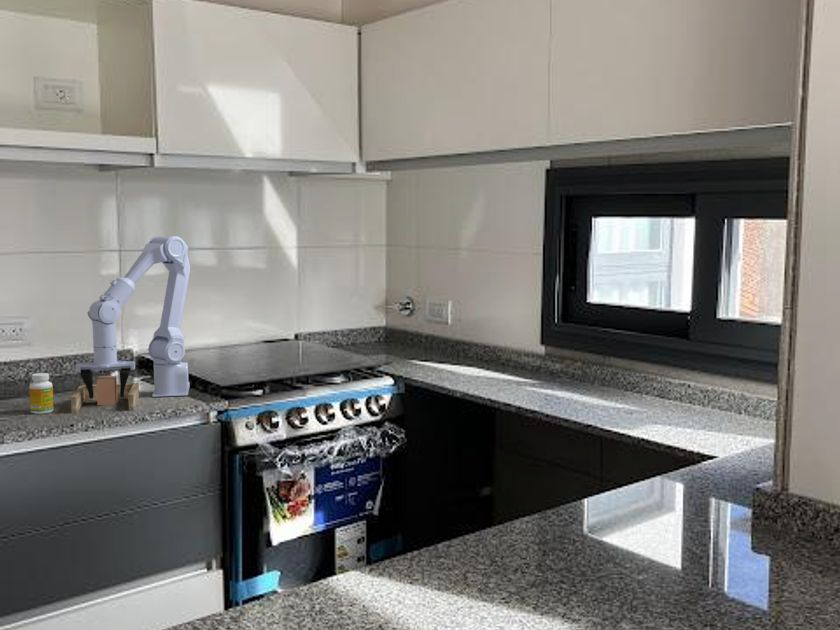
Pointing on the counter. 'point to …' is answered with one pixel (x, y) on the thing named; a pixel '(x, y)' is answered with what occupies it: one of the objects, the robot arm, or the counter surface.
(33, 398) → the supplement bottle
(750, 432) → the counter surface
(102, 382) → the block
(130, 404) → the wooden u-shaped frame
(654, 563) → the counter surface
